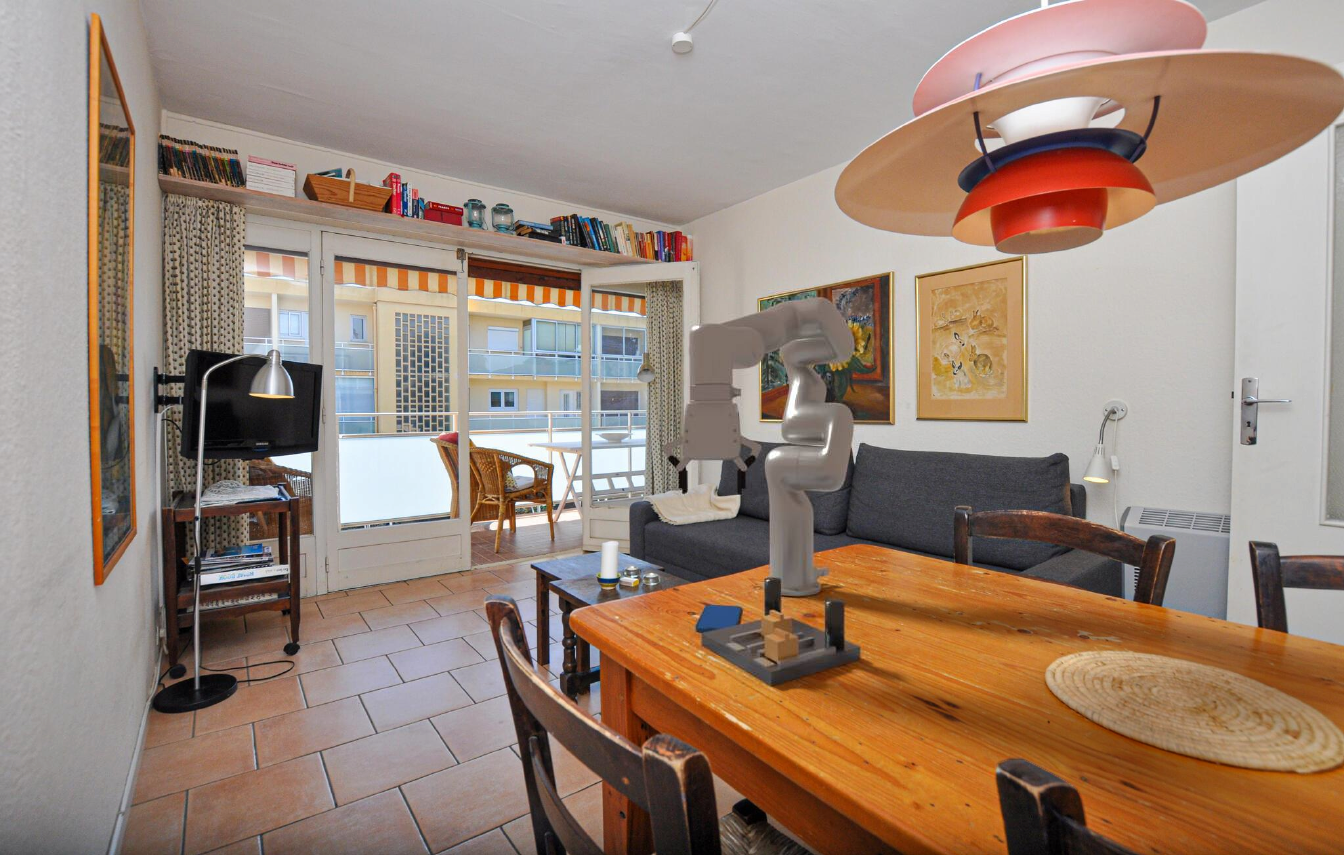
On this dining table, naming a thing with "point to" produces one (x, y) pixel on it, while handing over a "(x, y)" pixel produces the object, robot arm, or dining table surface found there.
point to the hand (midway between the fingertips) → (712, 493)
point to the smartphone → (718, 617)
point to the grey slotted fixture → (813, 644)
